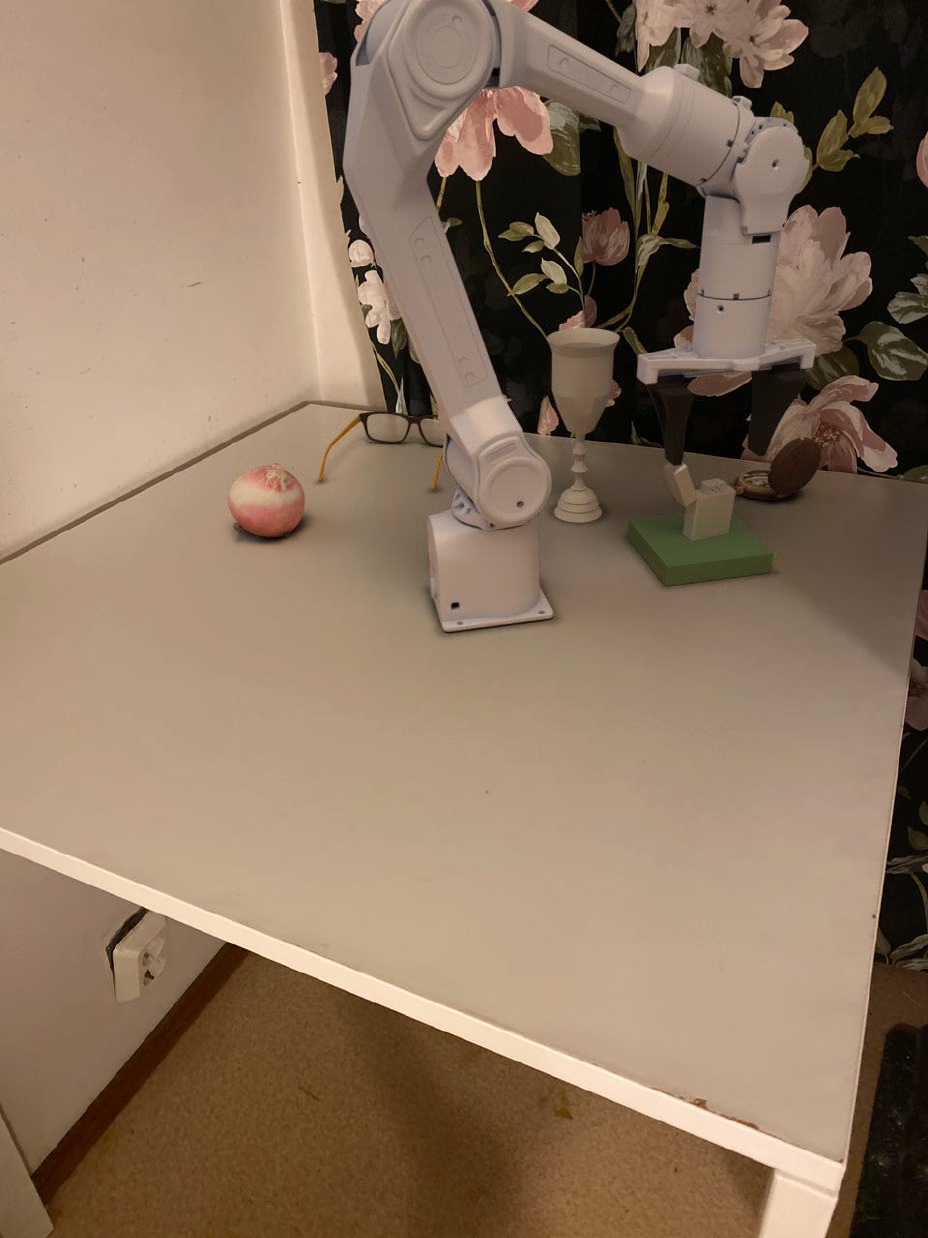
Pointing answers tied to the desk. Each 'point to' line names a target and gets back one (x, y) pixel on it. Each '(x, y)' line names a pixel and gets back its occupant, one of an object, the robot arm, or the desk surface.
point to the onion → (267, 501)
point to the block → (697, 551)
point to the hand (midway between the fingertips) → (715, 456)
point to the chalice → (581, 404)
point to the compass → (782, 472)
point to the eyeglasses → (364, 417)
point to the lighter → (701, 503)
